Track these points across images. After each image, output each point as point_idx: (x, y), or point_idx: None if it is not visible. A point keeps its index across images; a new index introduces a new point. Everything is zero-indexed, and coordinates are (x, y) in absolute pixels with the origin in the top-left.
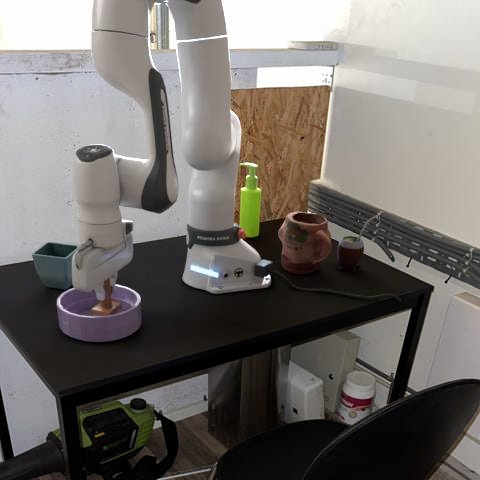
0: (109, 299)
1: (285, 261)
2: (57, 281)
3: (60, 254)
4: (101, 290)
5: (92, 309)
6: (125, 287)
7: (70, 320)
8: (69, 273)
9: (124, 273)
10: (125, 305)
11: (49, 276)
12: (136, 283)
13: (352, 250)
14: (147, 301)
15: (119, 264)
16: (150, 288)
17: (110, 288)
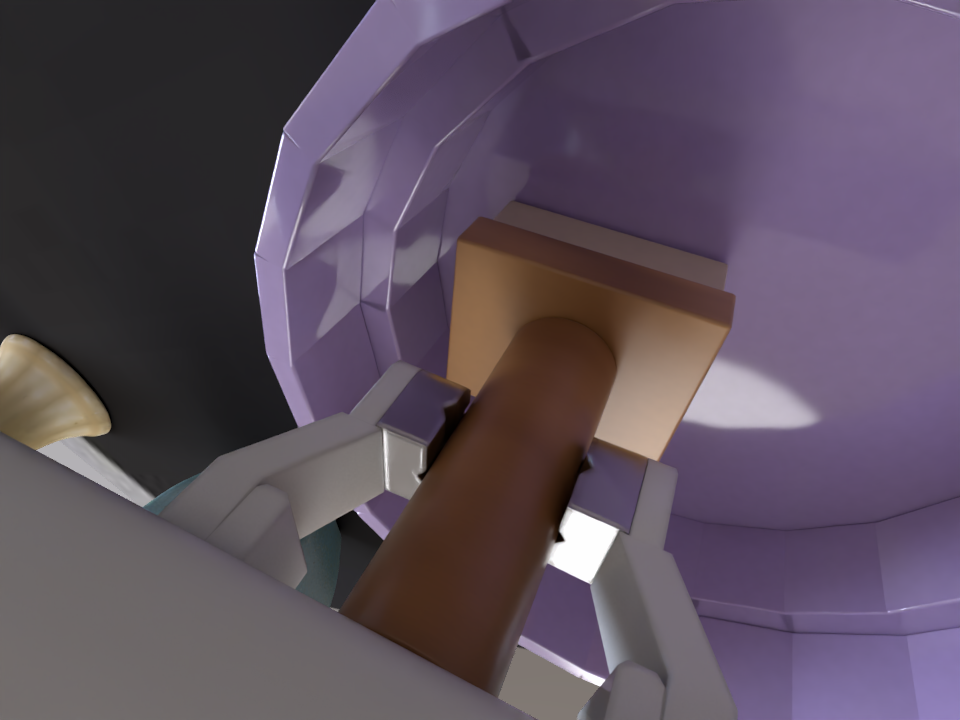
0: (565, 387)
1: None
2: (320, 545)
3: None
4: (697, 624)
5: (656, 459)
6: (270, 264)
7: None
8: None
9: (52, 270)
10: (430, 187)
11: (318, 585)
12: (72, 188)
13: None
14: (192, 29)
15: (25, 603)
16: (46, 74)
17: (480, 461)
